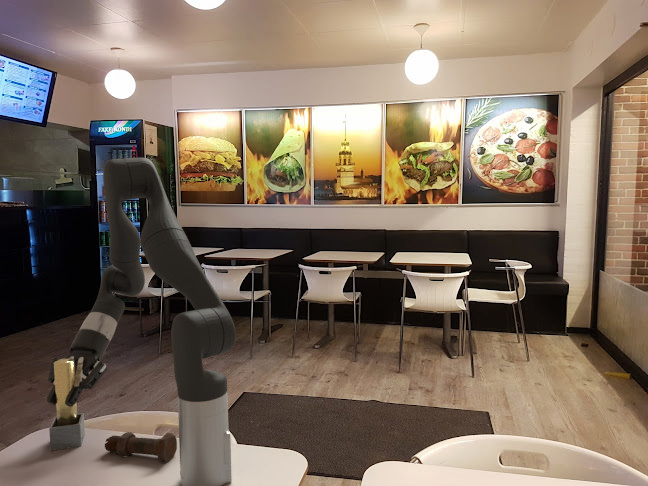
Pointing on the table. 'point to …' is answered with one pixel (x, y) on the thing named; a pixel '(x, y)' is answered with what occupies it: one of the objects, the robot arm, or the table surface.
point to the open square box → (67, 434)
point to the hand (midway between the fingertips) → (59, 404)
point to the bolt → (143, 446)
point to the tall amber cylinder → (64, 391)
